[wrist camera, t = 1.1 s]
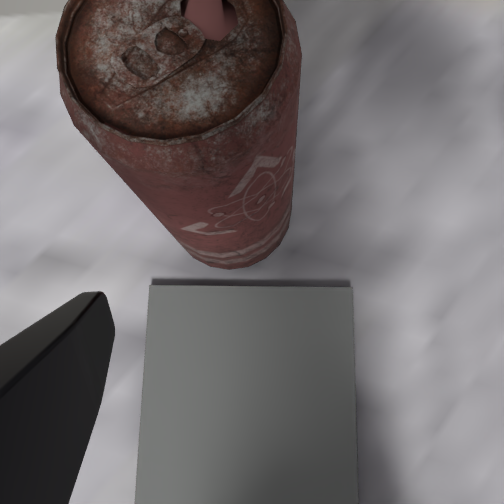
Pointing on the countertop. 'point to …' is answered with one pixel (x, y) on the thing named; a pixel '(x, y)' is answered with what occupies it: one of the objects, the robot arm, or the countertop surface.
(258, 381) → the mat
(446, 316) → the countertop surface
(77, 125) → the can
